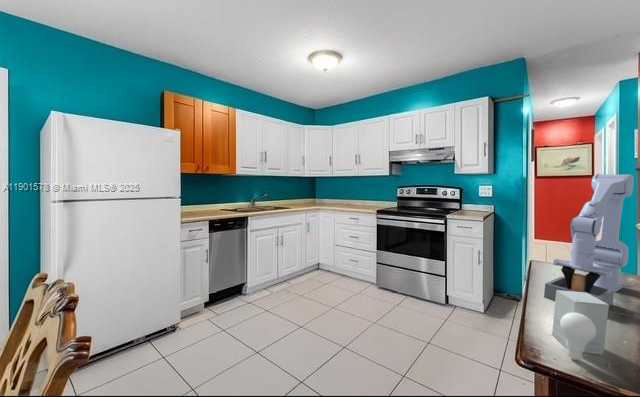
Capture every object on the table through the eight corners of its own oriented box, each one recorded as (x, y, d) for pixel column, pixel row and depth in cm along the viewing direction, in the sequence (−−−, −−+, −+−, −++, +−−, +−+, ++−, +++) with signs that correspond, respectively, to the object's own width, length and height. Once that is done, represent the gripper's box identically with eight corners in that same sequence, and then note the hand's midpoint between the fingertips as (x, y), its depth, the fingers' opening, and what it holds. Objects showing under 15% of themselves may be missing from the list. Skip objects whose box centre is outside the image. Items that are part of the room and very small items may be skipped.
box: (560, 289, 106) (561, 276, 106) (612, 304, 94) (614, 290, 94) (543, 297, 99) (545, 283, 98) (597, 314, 87) (599, 299, 86)
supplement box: (604, 355, 67) (610, 305, 66) (568, 351, 69) (574, 301, 67) (582, 338, 74) (587, 292, 73) (550, 334, 76) (555, 289, 75)
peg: (572, 294, 99) (574, 272, 98) (587, 299, 96) (590, 276, 95) (567, 297, 97) (570, 274, 96) (583, 301, 94) (585, 278, 93)
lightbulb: (584, 371, 61) (590, 323, 60) (551, 355, 67) (556, 310, 66) (597, 363, 64) (602, 317, 63) (564, 348, 70) (568, 305, 69)
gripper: (551, 248, 99) (547, 285, 100) (608, 260, 87) (603, 302, 88) (559, 246, 103) (556, 282, 104) (615, 256, 90) (610, 297, 92)
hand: (578, 291), depth 96 cm, fingers closed on peg, 4 cm apart
